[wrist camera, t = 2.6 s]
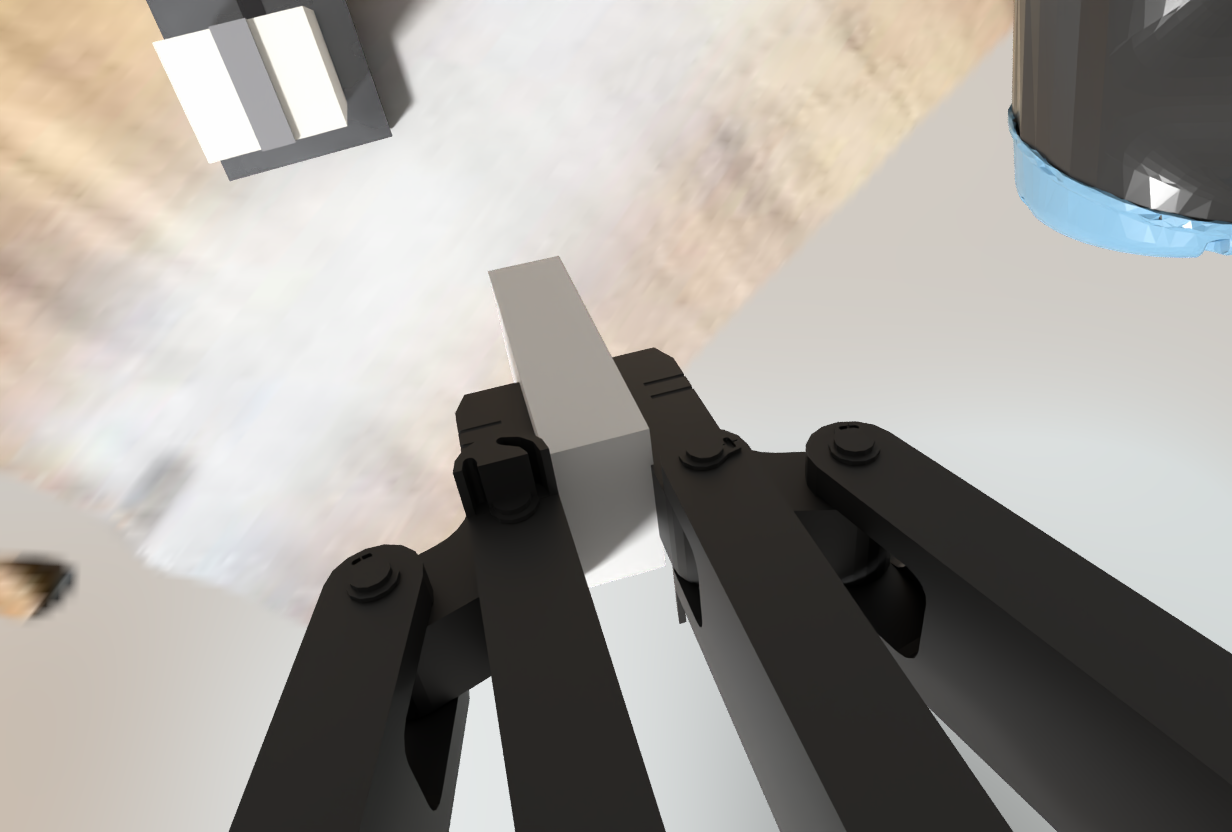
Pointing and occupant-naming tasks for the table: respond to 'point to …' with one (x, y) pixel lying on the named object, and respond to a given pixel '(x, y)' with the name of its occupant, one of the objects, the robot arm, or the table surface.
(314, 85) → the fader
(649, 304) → the table surface
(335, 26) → the grey slotted track base
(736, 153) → the table surface
